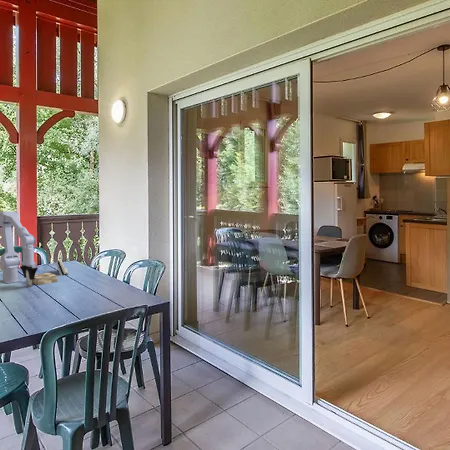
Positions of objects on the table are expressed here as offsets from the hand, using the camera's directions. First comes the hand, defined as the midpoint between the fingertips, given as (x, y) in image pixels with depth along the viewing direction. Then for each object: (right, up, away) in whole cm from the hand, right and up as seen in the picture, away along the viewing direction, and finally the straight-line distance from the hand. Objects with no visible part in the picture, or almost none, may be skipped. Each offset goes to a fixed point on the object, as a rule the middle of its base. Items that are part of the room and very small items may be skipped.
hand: (29, 278), depth 223 cm
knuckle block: (+2, -4, +13) cm, 13 cm away
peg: (0, -5, 0) cm, 5 cm away
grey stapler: (+3, -2, +39) cm, 39 cm away
